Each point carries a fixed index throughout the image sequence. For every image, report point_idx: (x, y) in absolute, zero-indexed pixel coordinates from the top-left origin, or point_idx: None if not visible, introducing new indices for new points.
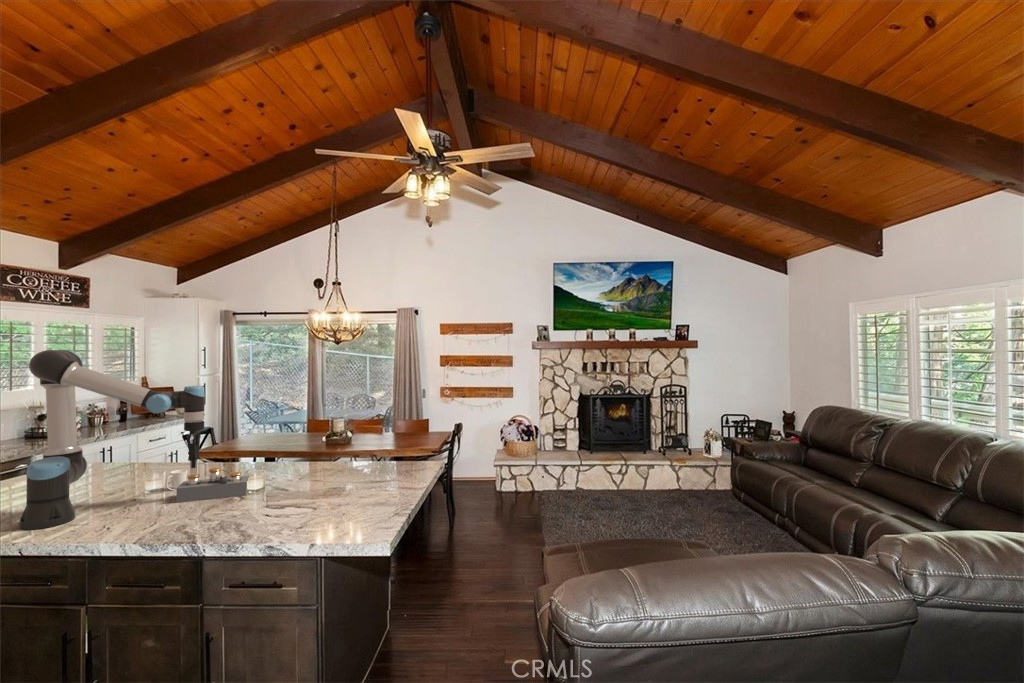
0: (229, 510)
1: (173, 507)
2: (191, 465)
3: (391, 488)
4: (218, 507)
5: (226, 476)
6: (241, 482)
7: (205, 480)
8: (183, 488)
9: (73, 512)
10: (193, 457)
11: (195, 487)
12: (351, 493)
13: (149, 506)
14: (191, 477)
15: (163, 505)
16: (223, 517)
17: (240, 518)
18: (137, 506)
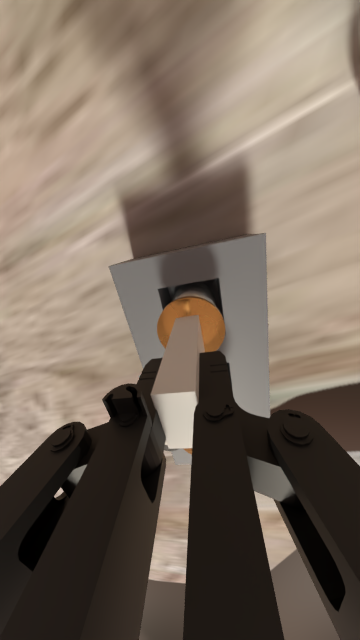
0: (63, 413)
1: (81, 273)
2: (141, 376)
3: (175, 568)
4: (83, 389)
5: (165, 449)
6: (172, 455)
7: (245, 344)
8: (120, 294)
9: None
10: (64, 490)
11: (133, 338)
12: (157, 540)
13: (92, 160)
14: (158, 328)
15: (104, 221)
16: (20, 412)
17: (20, 436)
18: (92, 85)
